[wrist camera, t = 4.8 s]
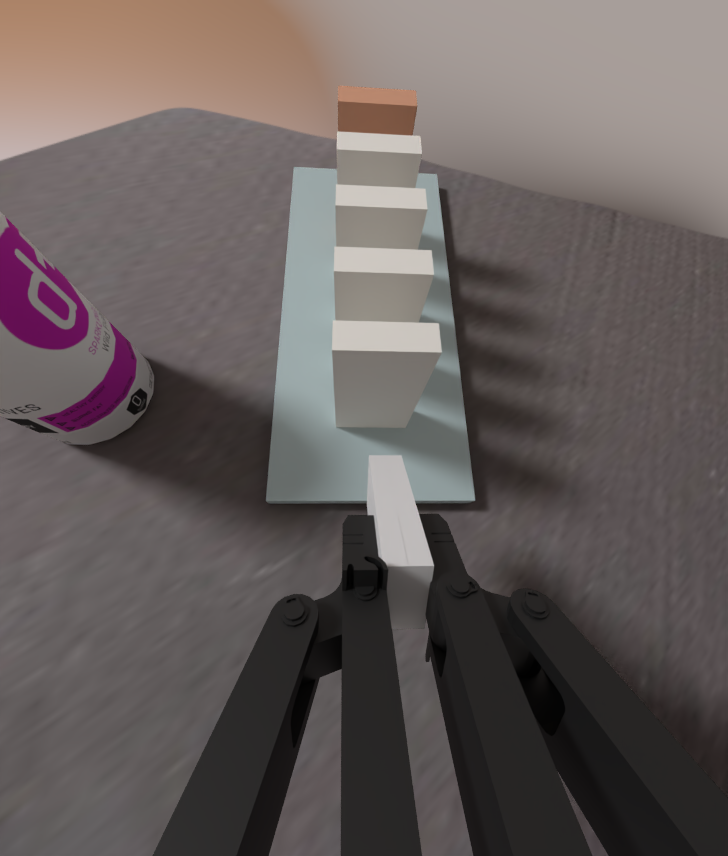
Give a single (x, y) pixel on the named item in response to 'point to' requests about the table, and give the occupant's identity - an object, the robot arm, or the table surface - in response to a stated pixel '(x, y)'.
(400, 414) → the domino
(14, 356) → the supplement can
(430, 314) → the domino board
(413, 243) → the domino
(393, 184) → the domino
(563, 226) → the table surface
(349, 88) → the domino
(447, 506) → the table surface
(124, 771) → the table surface
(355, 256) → the domino
